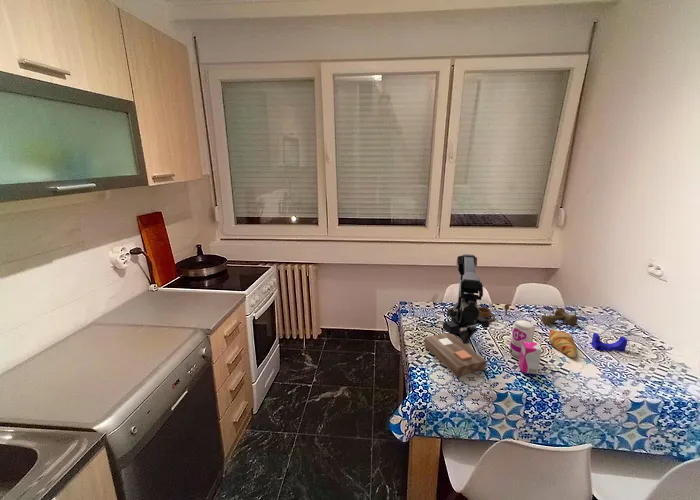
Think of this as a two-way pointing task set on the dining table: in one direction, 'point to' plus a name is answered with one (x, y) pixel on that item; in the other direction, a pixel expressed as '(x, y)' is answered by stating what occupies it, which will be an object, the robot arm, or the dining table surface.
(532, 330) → the supplement can
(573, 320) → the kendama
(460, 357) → the terracotta plunger
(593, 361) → the dining table surface
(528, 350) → the supplement box
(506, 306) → the place setting
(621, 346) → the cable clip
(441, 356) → the button panel
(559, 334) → the croissant
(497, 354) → the dining table surface
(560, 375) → the dining table surface
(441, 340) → the white square block
